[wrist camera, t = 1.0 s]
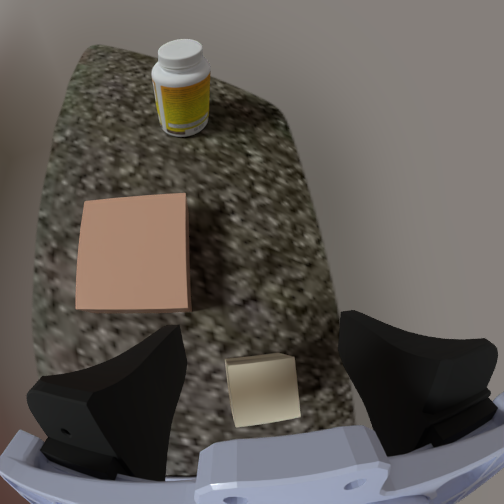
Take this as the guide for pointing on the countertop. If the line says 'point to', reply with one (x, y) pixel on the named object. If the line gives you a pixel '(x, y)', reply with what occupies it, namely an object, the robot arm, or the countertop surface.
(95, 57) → the countertop surface
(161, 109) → the supplement bottle
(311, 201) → the countertop surface
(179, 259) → the terracotta box
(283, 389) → the metal block
